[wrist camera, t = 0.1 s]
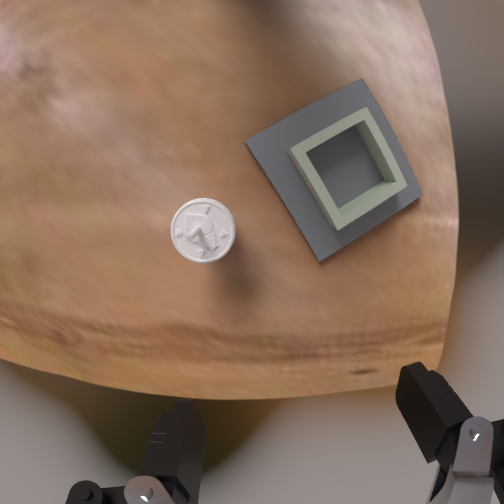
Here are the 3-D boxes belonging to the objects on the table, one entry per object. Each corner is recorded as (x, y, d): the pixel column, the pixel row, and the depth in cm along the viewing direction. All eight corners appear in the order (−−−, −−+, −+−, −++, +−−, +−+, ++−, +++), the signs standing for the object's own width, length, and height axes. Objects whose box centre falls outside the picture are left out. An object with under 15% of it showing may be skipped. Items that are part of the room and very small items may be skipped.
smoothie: (216, 180, 36) (197, 187, 22) (249, 218, 37) (250, 248, 23) (179, 213, 37) (142, 239, 23) (211, 250, 38) (192, 294, 25)
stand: (244, 142, 34) (244, 138, 30) (358, 80, 32) (372, 71, 27) (317, 259, 39) (326, 271, 34) (418, 193, 36) (436, 197, 32)
